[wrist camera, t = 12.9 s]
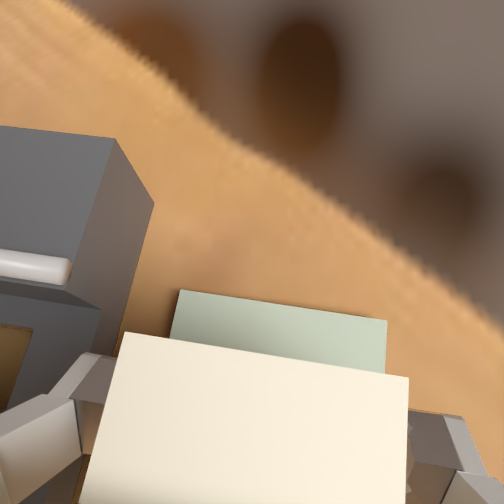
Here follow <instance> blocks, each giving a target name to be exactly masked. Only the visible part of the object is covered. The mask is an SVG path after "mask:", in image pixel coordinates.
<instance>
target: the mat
mask: <svg viewBox="0 0 504 504" xmlns="http://www.w3.org/2000/svg"><path fill="white" fill-rule="evenodd" d="M386 335H387V320H380V319H374V318H367V317H360V316H354V315H347V314H340V313H334V312H327V311H321V310H314V309H307V308H301V307H294V306H287V305H281V304H274V303H268V302H261V301H254V300H248V299H241V298H235V297H228V296H221V295H215V294H208V293H201V292H195V291H188V290H182V289H180V294H179V298H178V302H177V306H176V311H175V315H174V319H173V324H172V328H171V332H170V336H169V339H174V340H180V341H186V342H192V343H199V344H205V345H211V346H217V347H223V348H229V349H235V350H241V351H248V352H254V353H260V354H266V355H272V356H278V357H284V358H290V359H297V360H303V361H309V362H315V363H321V364H327V365H333V366H340V367H346V368H352V369H358V370H364V371H370V372H376V373H382V374H385V355H386Z"/></svg>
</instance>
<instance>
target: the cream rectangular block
mask: <svg viewBox="0 0 504 504" xmlns="http://www.w3.org/2000/svg"><path fill="white" fill-rule="evenodd" d="M408 387H409V378H407V377H401V376H395V375H389V374H382V373H376V372H370V371H364V370H358V369H352V368H346V367H340V366H333V365H327V364H321V363H315V362H309V361H303V360H297V359H290V358H284V357H278V356H272V355H266V354H260V353H254V352H248V351H241V350H235V349H229V348H223V347H217V346H211V345H205V344H199V343H192V342H186V341H180V340H174V339H168V338H162V337H156V336H150V335H143V334H137V333H131V332H125V333H124V337H123V340H122V344H121V348H120V351H119V355H118V359H117V362H116V366H115V370H114V374H113V377H112V381H111V385H110V388H109V392H108V396H107V399H106V403H105V407H104V411H103V414H102V418H101V422H100V425H99V429H98V433H97V436H96V440H95V444H94V448H93V451H92V455H91V459H90V462H89V466H88V470H87V473H86V477H85V481H84V485H83V488H82V492H81V496H80V499H79V503H78V504H405V491H406V456H407V421H408Z"/></svg>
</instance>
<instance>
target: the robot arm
mask: <svg viewBox="0 0 504 504" xmlns="http://www.w3.org/2000/svg"><path fill="white" fill-rule="evenodd" d="M117 359H118V358H116V357H111V356H106V355H98V354H94V353H89V352H86V353H83V354H82V355H80V357H79V358H78V359H77V360H76V361H75V363H74V364H73V365H72V366H71V367H70V368H69V370H68V371H67V372H66V373H65V374H64V376H63V377H62V378H61V379H60V380H59V382H58V383H57V384H56V385H55V386H54V388H53V389H52V390H51V391H50V392H49V393H48V395H46V394H41V395H39V396H37V397H35V398H32V399H30V400H28V401H26V402H24V403H22V404H20V405H18V406H16V407H14V408H12V409H10V410H8V411H5V412H3V413H1V414H0V504H18V503H20V502H21V501H22V500H24V499H25V498H26V497H27V496H29V495H30V494H31V493H33V492H34V491H35V490H37V489H38V488H39V487H41V486H42V485H43V484H44V483H46V482H47V481H48V480H50V479H51V478H52V477H54V476H55V475H56V474H58V473H59V472H60V471H61V470H63V469H64V468H65V467H67V466H68V465H69V464H71V463H72V462H73V461H75V460H76V459H77V458H79V457H80V456H81V453H83V454H89V455H92V451H93V448H94V444H95V440H96V436H97V433H98V429H99V425H100V422H101V418H102V414H103V411H104V407H105V403H106V399H107V396H108V392H109V388H110V385H111V381H112V377H113V374H114V370H115V366H116V362H117ZM405 504H504V485H503V484H502V483H500V482H499V481H498V480H497V479H496V478H494V477H489V476H488V473H487V471H486V469H485V467H484V464H483V462H482V460H481V457H480V455H479V453H478V450H477V448H476V446H475V443H474V441H473V439H472V436H471V434H470V432H469V429H468V427H467V425H466V422H465V420H464V419H463V418H462V417H461V416H456V415H449V414H443V413H436V412H429V411H423V410H417V409H411V408H408V421H407V456H406V491H405Z"/></svg>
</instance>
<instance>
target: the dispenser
mask: <svg viewBox="0 0 504 504" xmlns="http://www.w3.org/2000/svg"><path fill="white" fill-rule="evenodd" d="M153 206H154V202H153V200H152V198H151V197H150V195H149V193H148V192H147V190H146V189H145V187H144V185H143V184H142V182H141V180H140V179H139V177H138V175H137V174H136V172H135V170H134V169H133V167H132V165H131V164H130V162H129V160H128V159H127V157H126V156H125V154H124V152H123V151H122V149H121V147H120V146H119V144H118V142H117V141H116V139H115V138H106V137H98V136H89V135H80V134H71V133H62V132H53V131H44V130H36V129H27V128H18V127H9V126H0V326H2V327H8V328H14V329H20V330H25V331H31V332H33V333H32V336H31V339H30V342H29V345H28V348H27V350H26V353H25V356H24V359H23V362H22V365H21V368H20V370H19V373H18V376H17V379H16V382H15V385H14V388H13V391H12V393H11V396H10V399H9V402H8V405H7V408H6V410H2V409H0V414H1V413H3V412H5V411H8V410H10V409H12V408H14V407H16V406H18V405H20V404H22V403H24V402H26V401H28V400H30V399H32V398H35V397H37V396H39V395H41V394H46V395H48V393H49V392H50V391H51V390H52V389H53V388H54V386H55V385H56V384H57V383H58V382H59V380H60V379H61V378H62V377H63V376H64V374H65V373H66V372H67V371H68V370H69V368H70V367H71V366H72V365H73V364H74V363H75V361H76V360H77V359H78V358H79V357H80V355H82V354H83V353H86V352H89V353H94V354H98V355H106V356H111V357H112V354H113V350H114V346H115V343H116V339H117V336H118V332H119V328H120V325H121V321H122V318H123V314H124V310H125V307H126V303H127V300H128V296H129V292H130V289H131V285H132V281H133V278H134V274H135V271H136V267H137V263H138V260H139V256H140V253H141V249H142V245H143V242H144V238H145V235H146V231H147V227H148V224H149V220H150V216H151V213H152V209H153ZM84 455H85V454H83V453H81V456H80V457H79V458H77V459H76V460H75V461H73V462H72V463H71V464H69V465H68V466H67V467H65V468H64V469H63V470H61V471H60V472H59V473H58V474H56V475H55V476H54V477H52V478H51V479H50V480H48V481H47V482H46V483H44V484H43V485H42V486H41V487H39V488H38V489H37V490H35V491H34V492H33V493H31V494H30V495H29V496H27V497H26V498H25V499H24V500H22V501H21V502H20V503H18V504H71V502H72V498H73V494H74V491H75V487H76V484H77V480H78V476H79V473H80V469H81V466H82V462H83V458H84Z"/></svg>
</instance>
